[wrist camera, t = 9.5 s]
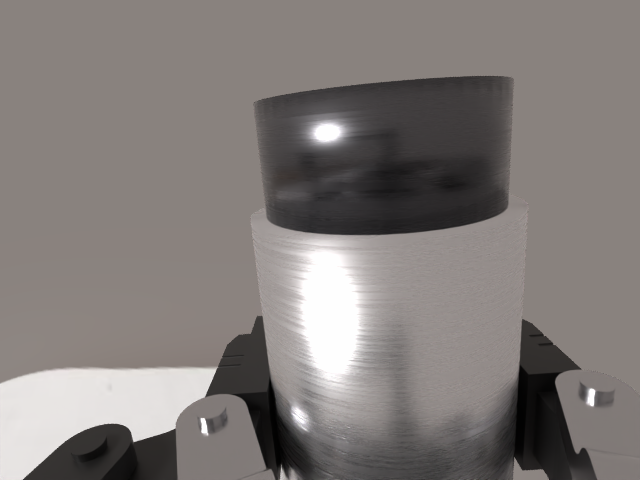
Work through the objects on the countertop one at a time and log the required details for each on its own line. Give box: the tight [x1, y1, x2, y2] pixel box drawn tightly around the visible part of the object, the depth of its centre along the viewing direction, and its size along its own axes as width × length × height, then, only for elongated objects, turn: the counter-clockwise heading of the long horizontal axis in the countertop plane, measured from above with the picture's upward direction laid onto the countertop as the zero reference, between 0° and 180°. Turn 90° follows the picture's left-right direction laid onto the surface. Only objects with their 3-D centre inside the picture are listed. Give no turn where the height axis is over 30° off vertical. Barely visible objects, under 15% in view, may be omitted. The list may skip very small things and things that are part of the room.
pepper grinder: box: [250, 76, 528, 480], centre depth 9 cm, size 5×5×14 cm
